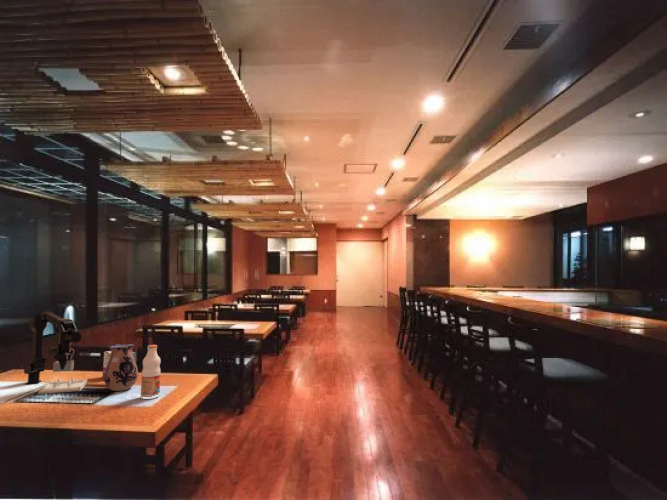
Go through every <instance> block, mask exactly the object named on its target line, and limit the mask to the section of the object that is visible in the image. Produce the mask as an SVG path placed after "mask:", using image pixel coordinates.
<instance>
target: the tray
mask: <svg viewBox="0 0 667 500" xmlns="http://www.w3.org/2000/svg"><path fill="white" fill-rule="evenodd" d="M61 380H62V379H61V378H57V381H47V383H45V384H44V385H43V386H42V387H40V388H39V389H38V393H37V394H38V395H44V394H45V395H46V394H57V393H59V394H60V393H69V392H71V393H72V392H80V391H82V389H83V388H85V386H86V384H87V383H88V379H75V377H71V380H62V381H61Z"/></svg>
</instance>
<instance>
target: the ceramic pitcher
mask: <svg viewBox="0 0 667 500" xmlns="http://www.w3.org/2000/svg"><path fill="white" fill-rule="evenodd" d="M134 346H135V344H131V343H130V344H129V343H125V344H122V343H118V344H114V345H110V346H109V349H110V351H111V356H110V359H109V362H108V364H107V367H106V370H105V374H104V378H103V381H104V382H103V383H105V386H106V387H107V388H108V389H109V390H111V391H114V392H115V391H116V392H118V391H120V392H121V391H126V390H129V389H131V387H133V386H134V385H135V384H136V382H137V380H138V377H139V371H138V369H139V368H138V365H137V363H136V359H135V357H134V352H133V348H134Z"/></svg>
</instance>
